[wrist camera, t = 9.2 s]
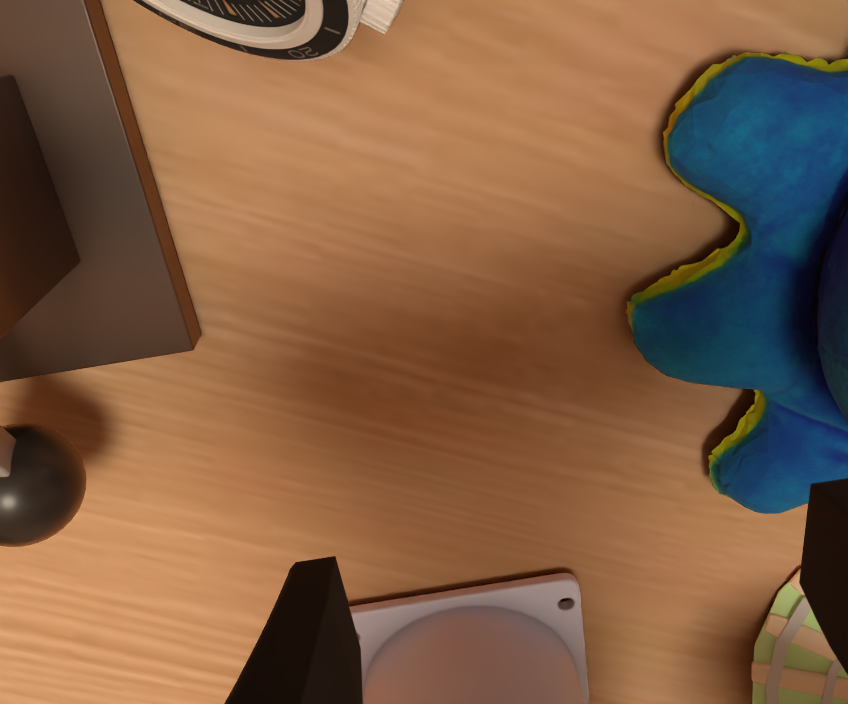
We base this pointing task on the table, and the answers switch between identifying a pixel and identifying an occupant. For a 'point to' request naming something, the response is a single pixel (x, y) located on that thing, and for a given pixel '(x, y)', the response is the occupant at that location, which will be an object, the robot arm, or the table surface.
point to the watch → (278, 23)
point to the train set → (795, 655)
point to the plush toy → (764, 271)
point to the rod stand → (78, 204)
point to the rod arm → (37, 483)
